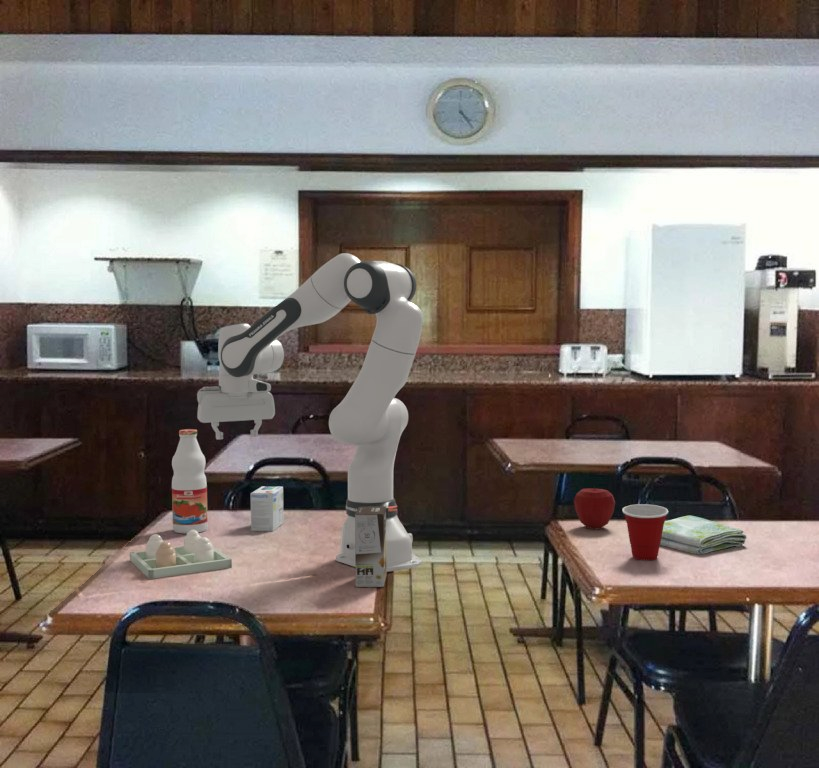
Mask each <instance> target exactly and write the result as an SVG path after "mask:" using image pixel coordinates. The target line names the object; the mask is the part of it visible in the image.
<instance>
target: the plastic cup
mask: <svg viewBox="0 0 819 768" xmlns="http://www.w3.org/2000/svg"><path fill="white" fill-rule="evenodd" d="M622 513H623V516H624V518H625V522H626V527H627V532H628V533H627V534H628V539H629V544H630V548H631V550H630V551H631V555H632V558H633V559H635V560H639V561H654V560H657V559H658V556H659V551H660V550H659V549H660V546H661V545H660V543H661V537H662V532H663V526H664V522H665V521H666V519H667V515H668V514H669V510H668V508H667V507H664V506H660V505H656V504H647V503H645V504H643V503H641V504H640V503H639V504H638V503H637V504H630V505H627V506H624V507H622Z"/></svg>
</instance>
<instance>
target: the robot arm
mask: <svg viewBox="0 0 819 768" xmlns="http://www.w3.org/2000/svg"><path fill="white" fill-rule="evenodd" d="M416 291H417V279H416V276H415V274H414V273H413V272H412V271H411V270H410V269H409V268H408V267H407V266H404V265H403V264H400V263H392V262H388V261H384V260H362V261H361V259H359V257H357V256H356V255H353V254H351V253H347V252H345V253H339V254H337V255H336V256H334V257H333V258H331V259H330V260H329V261H327V262H326V263H325V264H323V265H321V266H320V267H319V268H318V269H317V270H316V271H315V272H314V273H313V274H312V275H310V277H309V278H308V279H307V280H305V281H304V282H303V283H302V284H301V285H300V286H299V287H298V288H297V289H296V290H294V292H292V293H291V294H289V295H288V296H287V297H286V298H285V299H283V300H282V301H280V302H279V303H277V304H276V306H274V307H273V308H271V309H270V310H269V311H268V312H267V313H265V314H264V315H263V316H262V317H261V318H259V319H258V320H256V321H255V323H253V324H252V325H250V324H249V323H245V322H237V323H231V324H226V325H224V326H223V327H221V329H220V331H219V334H218V345H217V346H218V348H217V349H218V350H217V353H218V354H217V355H218V361H219V369H218V370H219V371H218V385H214V386H213V385H212V386H203V387H202V388H200V389H198V390H197V393H196V401H197V403H198V406H197V414H196V415H197V416H196V417H197V420H198V421H199V422H200V423H203V424H206V423H211V427H212V430H213V431H214V432H215V439H216V440H223V439H224V432H222V431H220V430H219V428H218V427H219V426H220V423H221V422H223V423H224V422H240V421H254V422H253V423H254V424H255V425H254V427H253V429H250V431H249V432H250V437H251V438H257V437H258V436H259V430H260V428H261V426H262V424H263V422H262V421H263V420H272V419H273V418H274V416H275V415H276V408H275V407H276V405H275V400H274V396H273V394H272V393H271V389H272V385H271V384H270V383H268V382H265V381H262V380H260V379H256V378H255V379H254V375H261V374H262V375H263V374H269V373H273V372H276V371H278V370H279V369H280V368H282V366H283V364H284V361H285V357H286V355H285V348H284V346H283V344H282V342H281V341H280V340H279V338H280V337H282V336H283V335H284V334H285V333H287V332H289V331H292V330H296V329H298V328H302V327H306V326H313V325H317V324H322V323H325V322H326V321H328V320H330V319H331V318H333V317H335V316H336V315H337V314H338V313H340V312H341V310H343V309H344V308H345V307H346V306H347V305H348V304H349V303H350V302H351V301H352V302H353V303H354V304H356V305H357V306H358V307H361V309H363V310H364V312H366V314H368V315H375V316H376V324H375V327H374V331H373V333H372V337H371V340H370V343H369V346H368V349H367V352H366V354H365V357H364V361H363V365H362V366H361V369H360V371H359V373H358V375H357V376H356V379H355V380H354V382H353V384H352V386H351V387H350V388H349V390H348V392H347V393H346V395H345V397H343V399H342V400H341V402H340V403H339V404H338V405H336V407H334V408H333V409H332V410H331V412H330V414H329V418H328V428H329V431H330V434H331V436H332V437H333V438H334V439H335V440H336V441H337V442H338V443H340V444H345V445H350V446H356V450H355V453H354V455H353V457H352V460H351V461H350V462H349V465H348V468H347V499H346V501H345V503H346V504H345V509H346V511H345V513H346V515H347V516H346V519H345V521H344V523H343V524H342V525H341V533H340V534H341V535H340V536H341V537H340V548H339V549H340V551H339V553H338V554H337V555H335V561H336V562H339V563H342V564H345V565H349V566H350V567H354V568H356V563H355V513H356V511H357V509H358V508H359V507H368V506H385V507H386V573H389V572H397V571H402V570H403V571H404V570H408V569H414V568H417V567H421V566H422V565H423V560H422V559H421V558H420V557H418V556H417V555H416V554H415V553H413V546H412V545H413V544H412V543H413V541H414V538H413V533H411V532H409V533H408V532H407V530H406V528H405V527H404V525H403V524H402V522H401V520H400V519H399V516H398V505H397V503H396V499H395V498H394V467H395V461H396V455H397V451H398V446H399V443H400V439H401V436H402V434H403V432H404V430H405V429H406V427H407V425H408V423H409V411H408V409H407V406H406V405H405V404H404V402H403V401H401V400H400V399H399V398H396V395H397V394H398V392H399V391H400V390H401V389H402V388H403V387H404V386H405V385H406V383H407V381H408V378H409V375H410V371H411V369H412V365H413V363H414V360H415V357H416V353H417V351H418V347H419V344H420V340H421V335H422V329H423V324H424V314H423V311H422V309H421V308H420V307H419V306H418V305H416V304H415V303H413V302H412V301H411V300H412V299H413V298H414V296H415V295H416Z"/></svg>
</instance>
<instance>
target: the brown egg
mask: <svg viewBox="0 0 819 768" xmlns="http://www.w3.org/2000/svg"><path fill="white" fill-rule="evenodd" d="M173 547H174V546H173V545H172V543H171V542H169V541H164V542H162V543H161V544H160V545H159V548H158V549H157V551H156V568H162V567H169V566H176V552H175V549H174V548H173Z"/></svg>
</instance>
